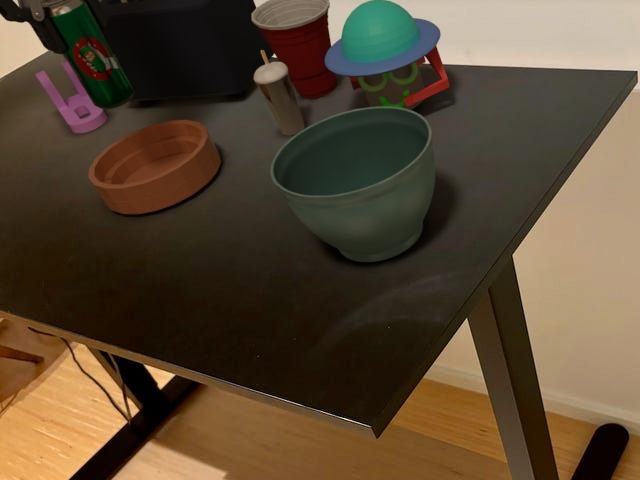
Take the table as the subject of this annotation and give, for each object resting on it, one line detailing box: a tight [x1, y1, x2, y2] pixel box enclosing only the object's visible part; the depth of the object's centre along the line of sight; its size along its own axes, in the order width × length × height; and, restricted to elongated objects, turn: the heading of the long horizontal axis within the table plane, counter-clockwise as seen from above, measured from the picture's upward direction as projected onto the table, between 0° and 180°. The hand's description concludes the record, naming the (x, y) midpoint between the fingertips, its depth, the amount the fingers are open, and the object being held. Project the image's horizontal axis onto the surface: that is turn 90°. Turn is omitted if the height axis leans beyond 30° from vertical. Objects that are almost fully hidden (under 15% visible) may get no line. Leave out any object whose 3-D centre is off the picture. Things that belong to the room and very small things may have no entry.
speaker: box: [100, 0, 275, 106], centre depth 110 cm, size 22×13×15 cm, turn 77°
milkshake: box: [253, 50, 306, 137], centre depth 96 cm, size 4×5×10 cm
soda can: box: [41, 0, 135, 110], centre depth 83 cm, size 5×5×12 cm
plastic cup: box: [251, 0, 338, 100], centre depth 102 cm, size 11×11×12 cm
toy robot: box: [325, 0, 451, 111], centre depth 92 cm, size 15×15×14 cm
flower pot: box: [270, 106, 436, 263], centre depth 74 cm, size 16×16×11 cm
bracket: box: [34, 60, 109, 134], centre depth 113 cm, size 13×6×7 cm, turn 36°
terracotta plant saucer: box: [87, 119, 222, 215], centre depth 94 cm, size 16×16×4 cm
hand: (81, 40), depth 82 cm, fingers closed on soda can, 5 cm apart
